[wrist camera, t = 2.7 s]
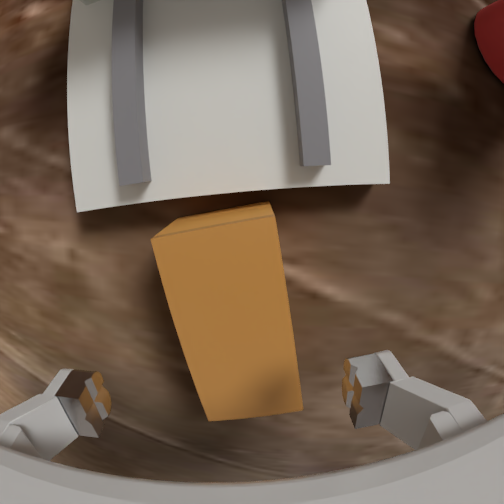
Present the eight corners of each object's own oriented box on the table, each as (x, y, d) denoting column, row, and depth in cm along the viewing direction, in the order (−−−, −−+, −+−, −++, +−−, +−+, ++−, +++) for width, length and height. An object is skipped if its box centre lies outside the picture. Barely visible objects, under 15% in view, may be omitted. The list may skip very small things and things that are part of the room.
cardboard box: (293, 357, 20) (303, 410, 15) (217, 368, 20) (208, 421, 15) (268, 200, 17) (274, 216, 12) (178, 217, 17) (150, 238, 12)
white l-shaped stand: (375, 180, 16) (459, 199, 9) (93, 206, 17) (3, 240, 9) (338, -54, 12) (371, -129, 4) (91, -23, 12) (31, -78, 5)
